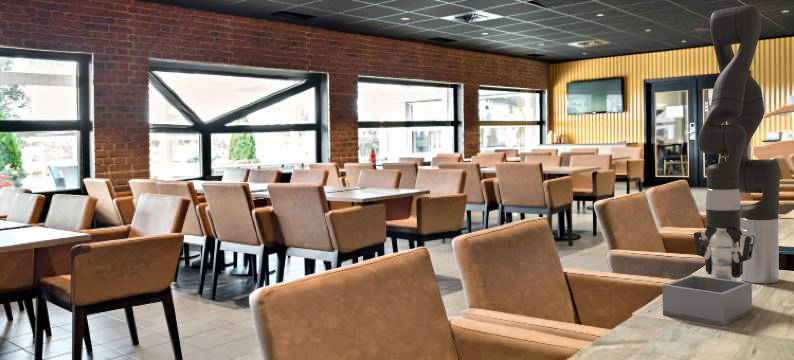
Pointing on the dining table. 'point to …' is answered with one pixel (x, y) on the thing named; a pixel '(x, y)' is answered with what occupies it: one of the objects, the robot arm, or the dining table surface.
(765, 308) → the dining table surface
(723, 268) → the plastic bottle
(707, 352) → the dining table surface
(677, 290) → the box
